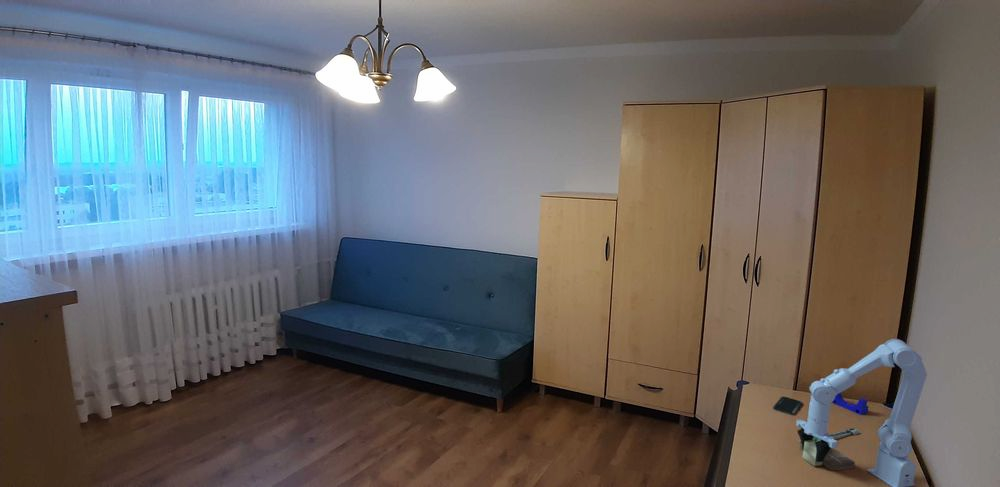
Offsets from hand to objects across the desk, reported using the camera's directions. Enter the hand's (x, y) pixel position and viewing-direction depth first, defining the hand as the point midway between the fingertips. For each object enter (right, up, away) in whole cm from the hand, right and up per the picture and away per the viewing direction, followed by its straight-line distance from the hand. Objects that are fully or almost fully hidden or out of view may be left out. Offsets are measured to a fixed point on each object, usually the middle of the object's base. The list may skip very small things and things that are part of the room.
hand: (812, 456), depth 173 cm
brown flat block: (+6, -2, +3) cm, 7 cm away
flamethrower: (+15, -1, +18) cm, 23 cm away
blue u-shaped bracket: (+39, +3, +42) cm, 57 cm away
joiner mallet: (+3, -2, +1) cm, 3 cm away
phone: (+14, +3, +41) cm, 43 cm away
